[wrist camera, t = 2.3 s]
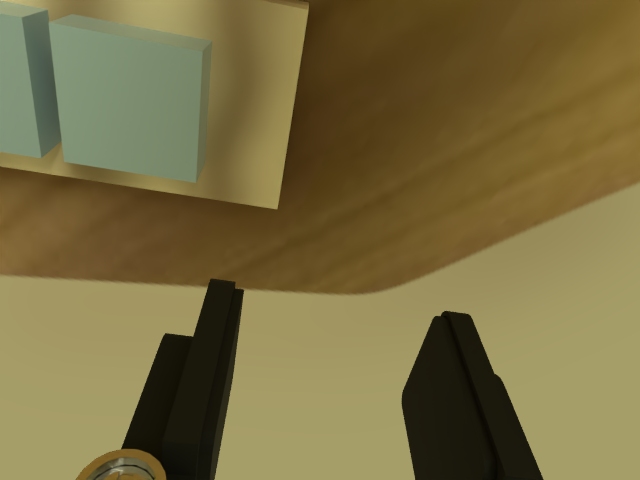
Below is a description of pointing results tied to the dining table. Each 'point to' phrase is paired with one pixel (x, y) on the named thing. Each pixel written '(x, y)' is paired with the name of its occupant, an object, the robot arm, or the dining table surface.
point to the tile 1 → (27, 82)
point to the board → (212, 92)
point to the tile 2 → (131, 97)
